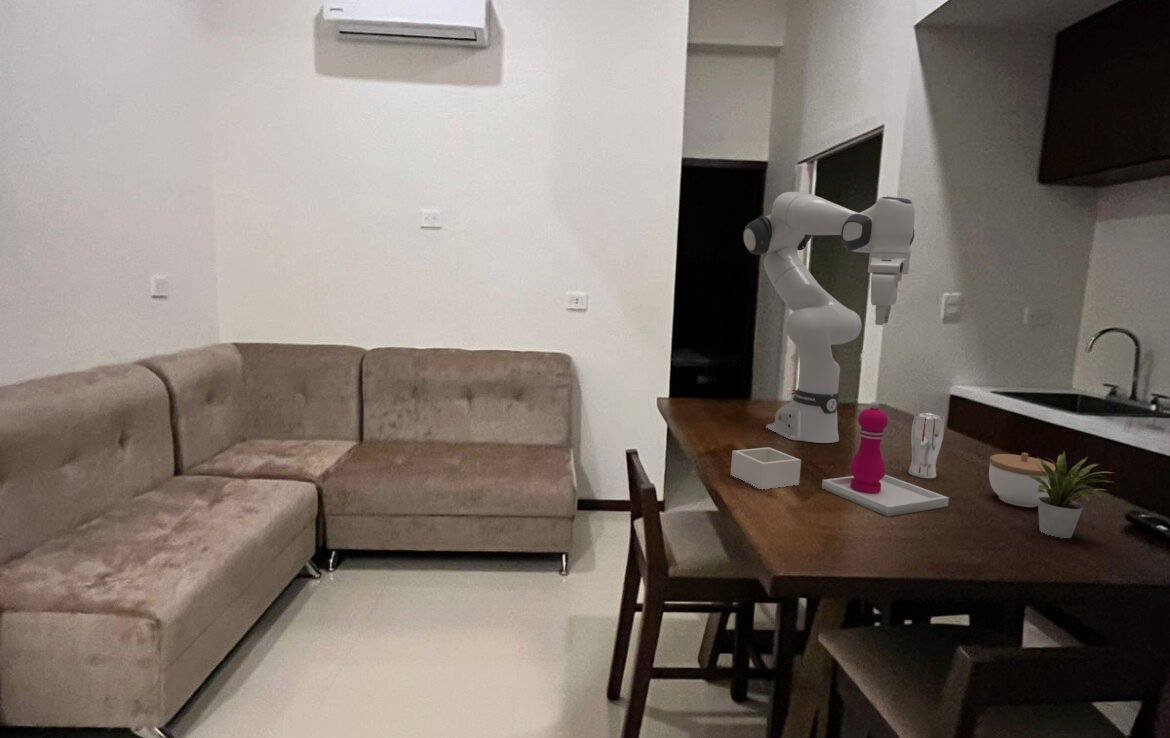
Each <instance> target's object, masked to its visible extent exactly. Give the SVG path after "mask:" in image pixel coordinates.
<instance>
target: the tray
mask: <svg viewBox="0 0 1170 738" xmlns="http://www.w3.org/2000/svg"><path fill="white" fill-rule="evenodd" d="M852 478H854V476H853V475H849V476H841V477H836V478H835V477H834V478H828V479H826V478H825V479H822V480H821V481H822V483H821V489H822V490H824V489H825V490H824V491H827V492H829V493H832V494H834V495H837V496H838V497H841V498H843V499H846V500H848V501H850V502H853V503H855V504H857V505H859V506H862V507H864V508H867V509H869V510H871V511H873V512H876V513H878V514H880V515H883V516H885V517H888V518H889V517H894V516H895V517H896V516H899V515H906V514H913V513H918V512H922V511H923V512H925V511H930V510H935V509H942V508H947V507H948V506H949V500H950V497H949V496H945V495H942V494H941V493H937V492H935V491H931V490H929V489H926V488H923V487H921V486H917V485H915V484H913V483H909V482H906V481H904V480H902V479H898V478H896V477H893V476H890V475H888V474H885V475H884V477H883V478H882V479H881V480H879V482H880V483H881V491H880V492H879V493H864V492H859V491H856V490H854V489H852V488H851V486H850V485H851V479H852Z"/></svg>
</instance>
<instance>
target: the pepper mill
mask: <svg viewBox="0 0 1170 738" xmlns="http://www.w3.org/2000/svg"><path fill="white" fill-rule="evenodd" d="M879 407H880V404H879V403H878V402H877V401H872V402H870V404H869V408H865V409H863V410H862V411H861V412H859V415H858V418H857V422H858V424H859V426H860V429H859V432H858V436H860V445H859V447H858V451H857V452H856V454H855V455H854V457H853V458H852V460H851V463H850V466H849V472H850V474H851V476H854V478H852V479H851V485H850V486H851V488H852V489H854V490H856V491H859V492H864V493H879V492H880V491H881V483H880V482H879V480H881V479H882V478H883V477H884V475H886V467H885V463H884V462H885V461H884V460H883V456H882V452H881V441H882V439H884V437H885V436H884V434H885V432H884V430H885V428H886V427H887V426H888V423H889V419H888V416H887V414H886V412H884V411H883V410H882V409H879Z"/></svg>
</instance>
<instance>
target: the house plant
mask: <svg viewBox="0 0 1170 738" xmlns="http://www.w3.org/2000/svg"><path fill="white" fill-rule="evenodd" d="M1036 458H1037V459H1039V461H1040V462H1041V463H1040V464H1042V466H1043V468H1044V469H1045V471H1046V473H1047V475H1048V478H1049V480H1048V478H1047V476H1046V475H1045V473H1044V472H1043V471H1042V470H1041V471H1042V472H1043V474H1044V475H1045V476H1046V478H1047V480H1048V482H1049V481H1050V482H1049V485H1050V484H1051V485H1050V487H1051V489H1050V488H1049V487H1048V485H1047V484H1046V483H1045V482H1044V481H1043V480H1042V479H1041V478H1039V477H1037V476H1035V475H1027V476H1028V477H1031V478H1033V479H1035V480H1037V481H1038V482H1040V483H1041V484H1042V485H1043V486H1042V485H1039V488H1038V492H1047V493H1048V495H1049V497H1048V496H1043V497H1039V498H1038V506H1037V509H1038V511H1037V512H1038V524H1039V525H1038V526H1039V532H1040V531H1041V532H1040V533H1042V532H1043V533H1045V534H1044V535H1046V534H1047V535H1046V536H1049V535H1051V536H1050V537H1052V536H1055V537H1054V538H1056V537H1060V538H1059V539H1063V538H1068V539H1071V538H1072V537H1073V535H1074V531H1075V530H1076V526H1077V523H1078V521H1079V519H1080V516H1081V513H1082V511H1083V508H1084V507H1083V505H1082V504H1080V503H1077V502H1075V500H1077V499H1079V498H1081V497H1084V498H1085V499H1086V501H1087V503H1088V504H1089V499H1090V497H1089V495H1098V496H1101V497H1102V498H1104V497H1103V494H1102V492H1101V491H1105V489H1104V488H1096V489H1095V488H1093V487H1089V486H1084V487H1083V486H1082V487H1079V486H1081V485H1084V484H1085V485H1086V484H1090V483H1091V484H1092V483H1113V481H1111V480H1105V479H1094V477H1095V478H1096V477H1104V475H1103V474H1115V472H1110V471H1099V472H1098V471H1097V472H1093V473H1092V472H1091V473H1090V471H1091V470H1092V468H1095V467H1096V466H1098V465H1099V463H1093V464H1090V465H1087V466H1086V467H1083V468H1081V467H1082V465H1083V464H1084V463H1085V462H1086V461H1087V459H1088V456H1087V457H1084V458H1083V459H1080V461H1079V462H1077V463H1075V465H1074V466H1072V467H1071V469H1070V470H1069V471H1068V472H1067V464H1068V463H1067V461H1066V452H1065V450H1063V452H1062V454H1059V455H1058V457H1057V459H1056V462H1055V461H1054V460H1053V459H1050V458H1048V457H1046V459H1047V460H1050V461H1051V463H1052V464H1054V465H1055V472H1054V473H1053V471H1052V469H1051V468H1050V467H1049V466H1048V465H1046V464H1045V462H1044V461H1045V460H1044V461H1043V459H1041V457H1038V456H1036ZM1034 463H1035V462H1034ZM1035 464H1036V463H1035ZM1036 465H1037V464H1036ZM1037 466H1038V465H1037ZM1038 467H1039V466H1038ZM1039 468H1040V467H1039ZM1080 468H1081V470H1079V469H1080ZM1040 469H1041V468H1040ZM1102 473H1103V474H1102ZM1086 477H1087V478H1086ZM1105 477H1107V475H1105ZM1084 478H1085V479H1084ZM1039 489H1046V490H1047V491H1044V490H1039ZM1084 490H1085V491H1084ZM1107 491H1109V490H1107ZM1038 492H1037V493H1038ZM1043 533H1042V534H1043Z"/></svg>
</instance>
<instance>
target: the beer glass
mask: <svg viewBox="0 0 1170 738" xmlns="http://www.w3.org/2000/svg"><path fill="white" fill-rule="evenodd" d="M911 426H912V427H911V433H910V436H911V439H910V441H911V442H910V443H911V463H910V466H909V469H908V474H910V475H911V476H914V477H917V478H921V479H935V478H936V477H937V469H936V465H937V459H938V456H939V453H940V449H941V446H942V444H943V440H944V434H945V433H944V432H945V417H944V416H943V415H939V414H934V413H928V412H916V413H914V416H913V421H912V425H911Z"/></svg>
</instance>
